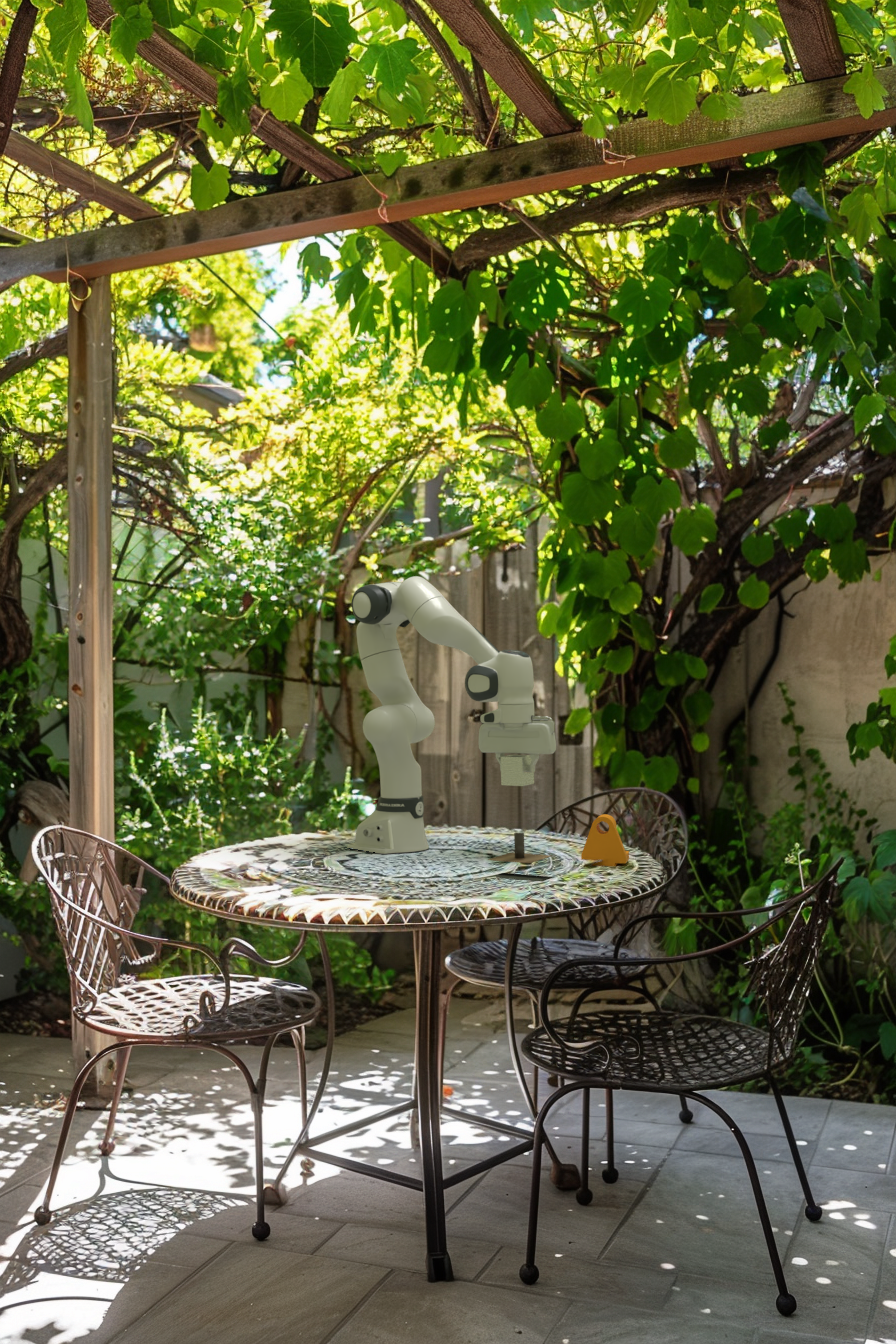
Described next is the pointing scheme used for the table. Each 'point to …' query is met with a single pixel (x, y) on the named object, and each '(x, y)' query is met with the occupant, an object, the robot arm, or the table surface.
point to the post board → (524, 860)
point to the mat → (523, 877)
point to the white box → (516, 770)
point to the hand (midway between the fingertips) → (517, 771)
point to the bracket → (604, 844)
